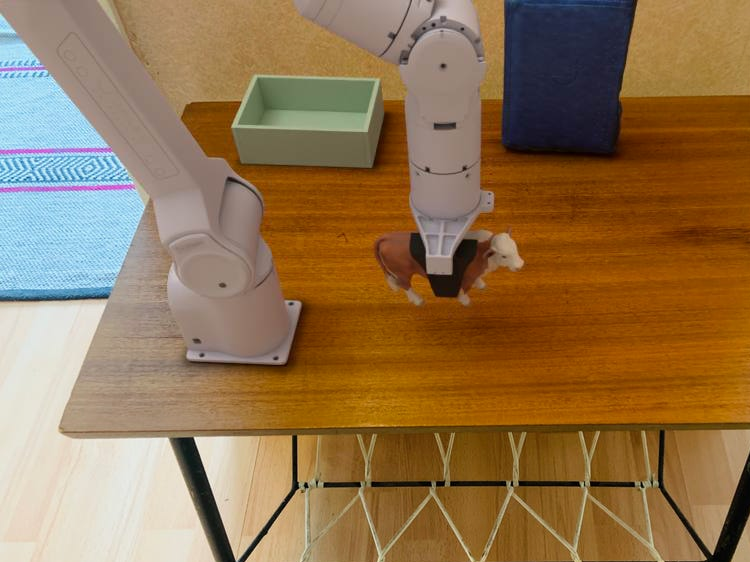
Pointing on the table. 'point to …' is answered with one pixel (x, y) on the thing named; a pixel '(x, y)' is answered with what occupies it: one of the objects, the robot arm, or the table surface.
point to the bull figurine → (487, 259)
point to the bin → (309, 121)
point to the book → (564, 73)
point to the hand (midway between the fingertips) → (448, 276)
